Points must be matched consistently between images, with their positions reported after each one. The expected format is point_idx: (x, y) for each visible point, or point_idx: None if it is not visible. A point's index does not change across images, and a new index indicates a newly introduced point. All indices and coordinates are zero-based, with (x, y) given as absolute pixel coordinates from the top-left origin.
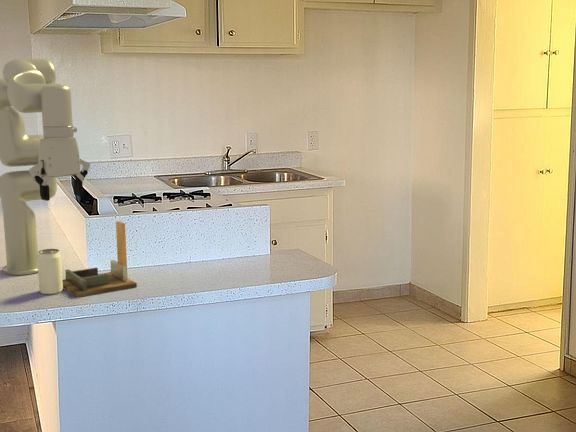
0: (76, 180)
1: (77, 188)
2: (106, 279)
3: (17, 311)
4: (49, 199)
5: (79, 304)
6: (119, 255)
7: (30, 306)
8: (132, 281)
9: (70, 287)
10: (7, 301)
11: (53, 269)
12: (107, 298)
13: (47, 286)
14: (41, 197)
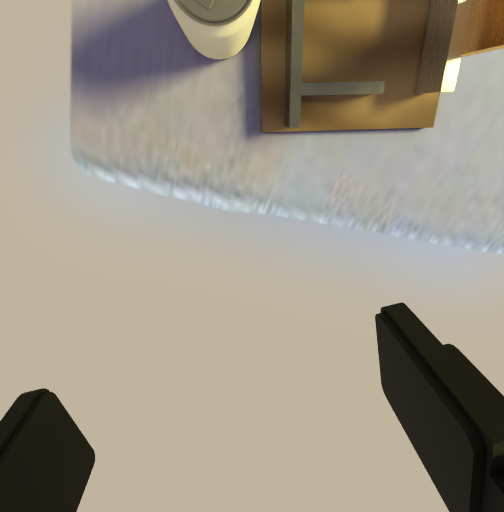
0: (490, 506)
1: (414, 421)
2: (370, 94)
3: (101, 168)
4: (92, 459)
5: (248, 194)
6: (489, 12)
7: (137, 143)
8: (434, 103)
9: (268, 56)
10: (79, 52)
11: (217, 47)
12: (321, 184)
13: (198, 49)
14: (16, 407)
